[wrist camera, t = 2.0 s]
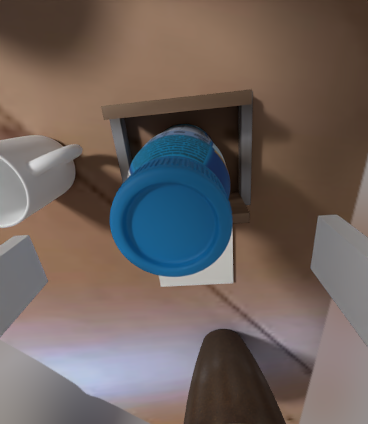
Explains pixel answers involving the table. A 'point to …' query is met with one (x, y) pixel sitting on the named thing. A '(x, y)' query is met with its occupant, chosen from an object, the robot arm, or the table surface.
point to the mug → (33, 175)
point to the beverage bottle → (174, 204)
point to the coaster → (207, 272)
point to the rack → (189, 104)
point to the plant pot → (229, 385)
